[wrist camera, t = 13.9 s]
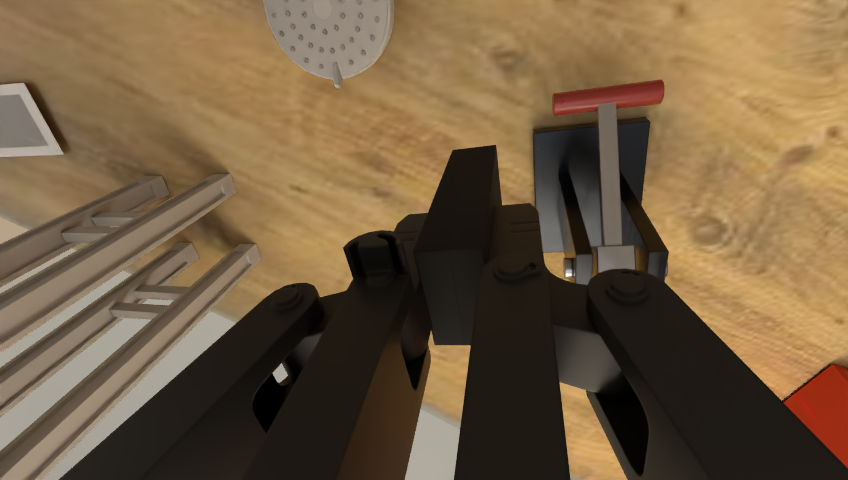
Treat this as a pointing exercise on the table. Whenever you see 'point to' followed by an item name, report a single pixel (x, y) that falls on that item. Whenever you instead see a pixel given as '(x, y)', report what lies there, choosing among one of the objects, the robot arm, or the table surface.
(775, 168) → the table surface
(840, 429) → the file binder
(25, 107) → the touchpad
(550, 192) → the tap mount
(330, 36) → the showerhead
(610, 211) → the tap lever
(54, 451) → the stool
